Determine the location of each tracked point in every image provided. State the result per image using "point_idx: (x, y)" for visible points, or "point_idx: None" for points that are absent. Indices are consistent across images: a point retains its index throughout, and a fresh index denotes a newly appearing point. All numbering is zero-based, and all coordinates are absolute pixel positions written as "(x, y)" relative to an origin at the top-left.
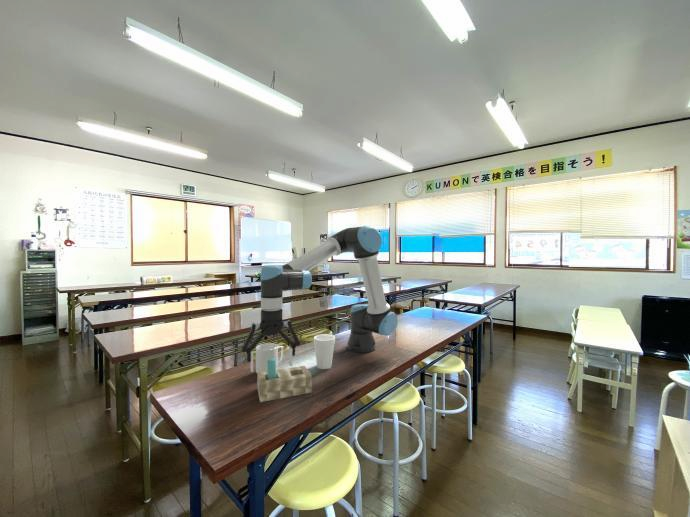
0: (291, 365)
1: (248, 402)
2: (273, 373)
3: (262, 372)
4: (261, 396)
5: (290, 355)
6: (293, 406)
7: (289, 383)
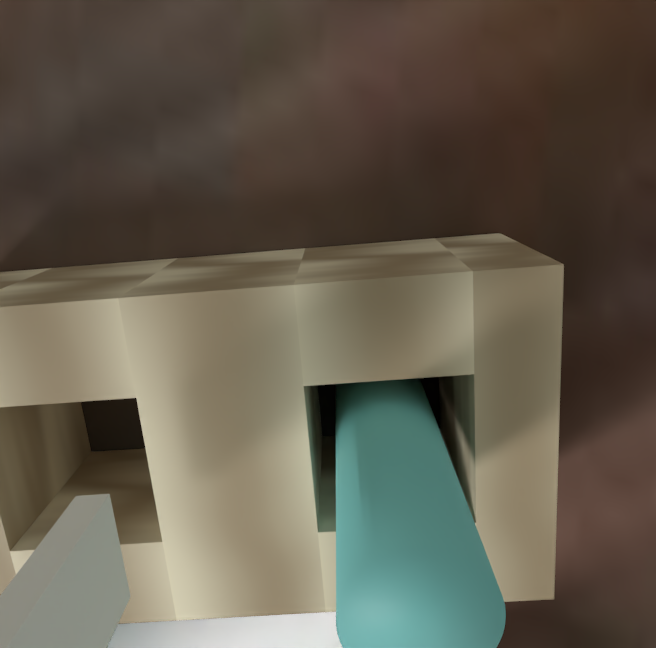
0: (86, 499)
1: (604, 262)
2: (377, 435)
3: None
4: (500, 242)
5: (13, 632)
6: (187, 48)
7: (182, 282)
